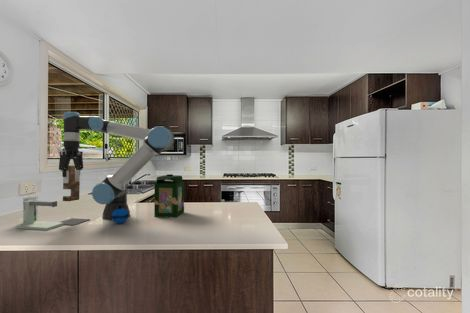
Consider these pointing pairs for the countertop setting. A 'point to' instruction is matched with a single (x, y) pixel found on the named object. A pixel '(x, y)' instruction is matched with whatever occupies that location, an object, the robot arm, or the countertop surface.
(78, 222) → the mat
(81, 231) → the countertop surface
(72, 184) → the brown long angular piece
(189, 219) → the countertop surface
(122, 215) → the ornament
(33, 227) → the stand
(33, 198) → the syrup box
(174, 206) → the container
